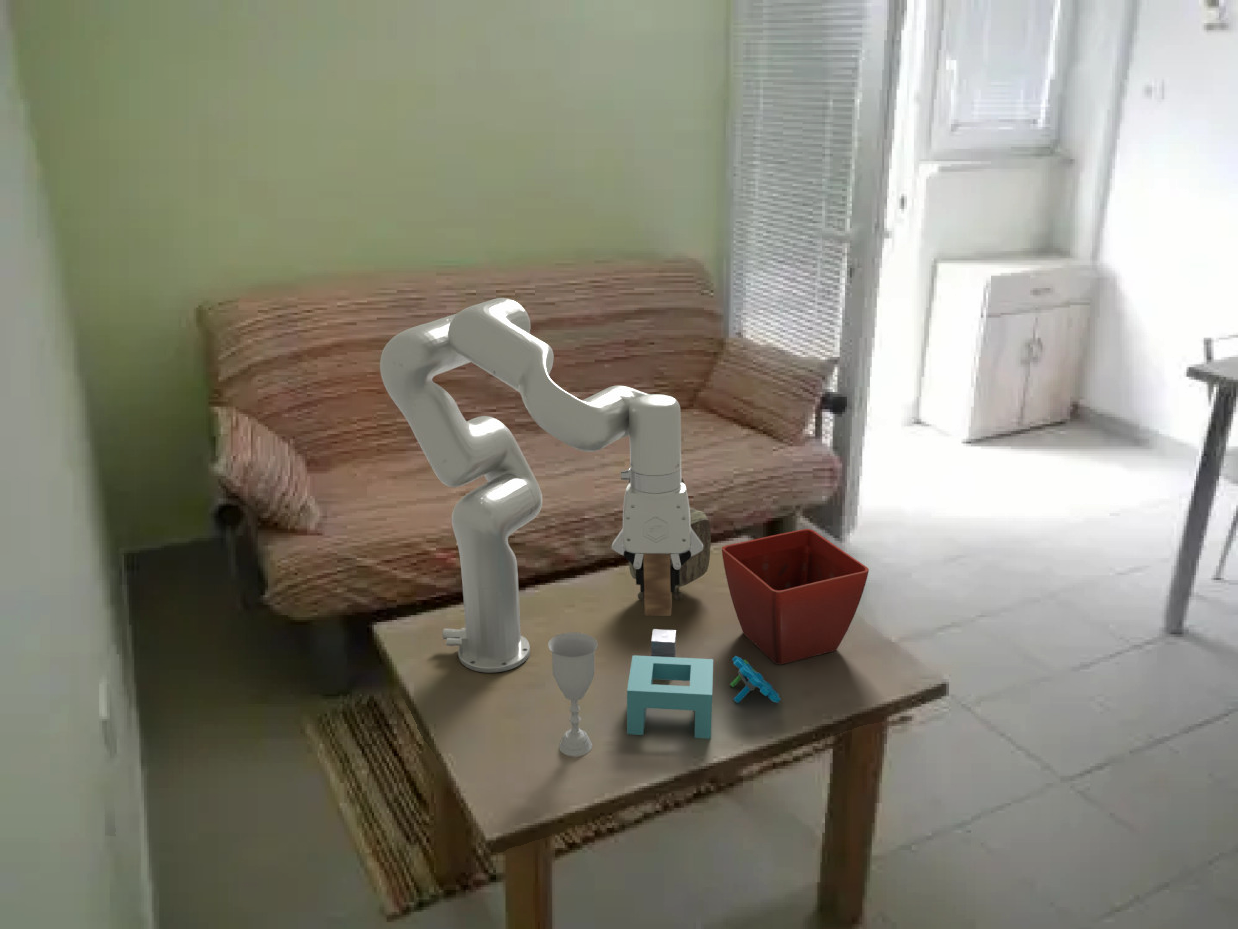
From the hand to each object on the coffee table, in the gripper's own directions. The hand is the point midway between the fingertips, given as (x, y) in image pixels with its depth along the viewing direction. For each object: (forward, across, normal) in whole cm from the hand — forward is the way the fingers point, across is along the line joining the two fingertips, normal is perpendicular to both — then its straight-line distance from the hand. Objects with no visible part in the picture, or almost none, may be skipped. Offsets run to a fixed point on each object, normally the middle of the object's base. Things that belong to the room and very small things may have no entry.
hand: (658, 587), depth 159 cm
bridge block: (+22, +2, -2) cm, 22 cm away
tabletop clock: (+22, 0, +38) cm, 44 cm away
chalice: (+22, -12, -11) cm, 28 cm away
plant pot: (+23, +22, +23) cm, 39 cm away
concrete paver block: (+22, 0, +13) cm, 25 cm away
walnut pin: (+4, 0, 0) cm, 4 cm away
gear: (+23, +15, +5) cm, 28 cm away
